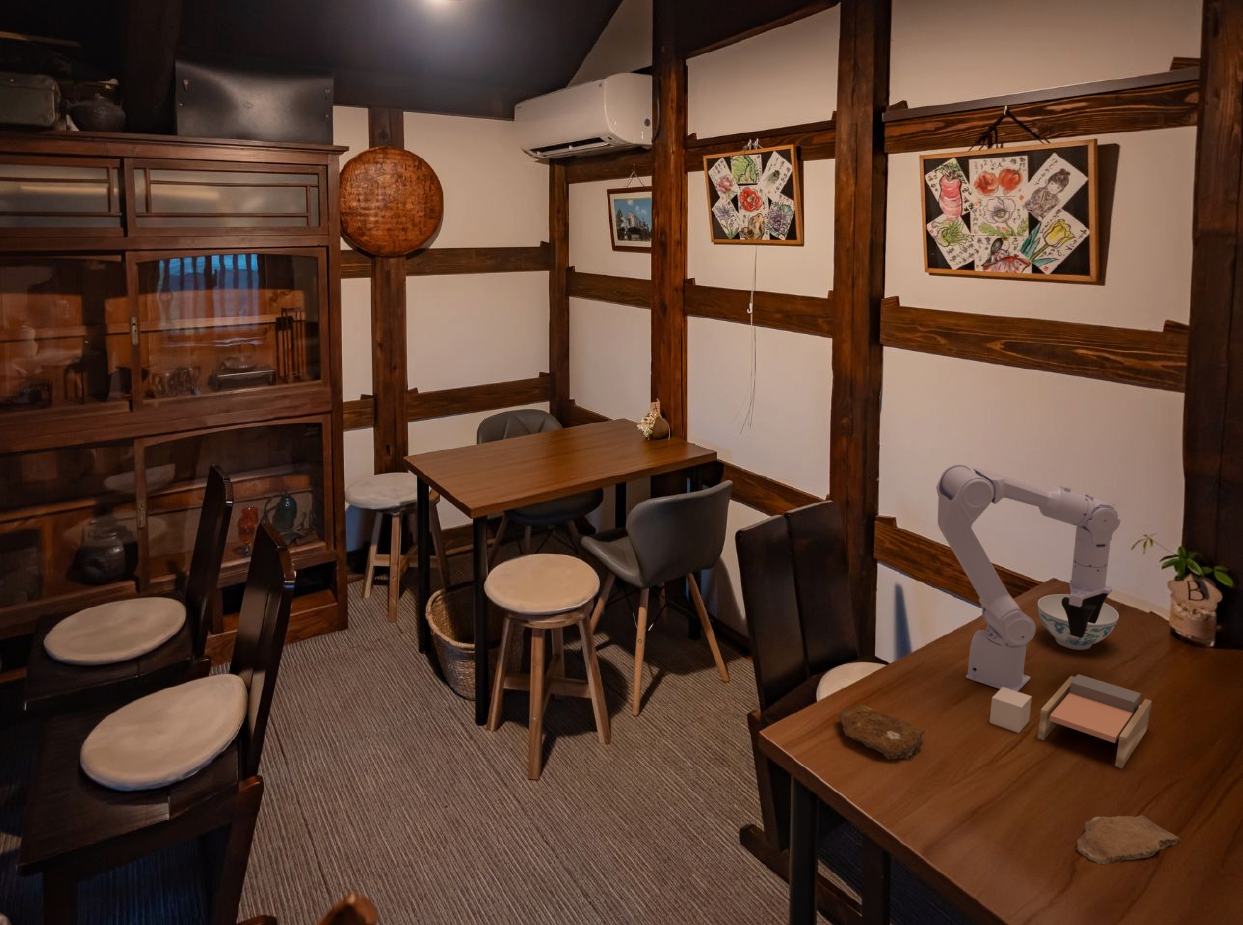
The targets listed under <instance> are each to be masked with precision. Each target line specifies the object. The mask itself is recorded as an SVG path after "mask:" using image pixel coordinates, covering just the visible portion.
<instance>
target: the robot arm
mask: <svg viewBox="0 0 1243 925" xmlns="http://www.w3.org/2000/svg"><path fill="white" fill-rule="evenodd" d="M972 469H973V470H972ZM972 469H970V467H968V466H967V465H964V464H953V465H952V466H949V467H947V468H946V469H945V470H944V471H943V472H942V474H941V476H940V478H939V481H938V482H937V485H936V486H935V488H936V489H935V490H936V493H937V496H938V499H937V500H938V502H937V503H938V505H937V525H938V528H939V530H940V531H941V533H942V536H943V537H944V538H945V540H946V542H947V543H948V545H949V547H950V548H951V551H952V552H953V554H954V555H955V557H956V560H958V563H959V564H960V566H961V567H962V570H963V571H964V573H965V575H966V577H967V578H968V580H969V581H970V584H971V585H972V586H973V588H974V590H975V592H976V593H977V595H978V601H979V603H980V606H981V609H982V610H981V616H982V619H983V620H984V622H985V623H986V630H985V629H978V630H977V631H976V632H975V633H974V635H972V636H973V637H972V639H971V642H970V647H969V648H970V649H969V655H968V656H969V657H968V669H967V674H966V675H965V678H966V679H968V680H971V681H974V682H977V683H981V684H984V685H987V686H990V687H993V688H995V689H999V690H1000V689H1001V688H1002V687H1005V688H1008V689H1011V690H1014V691H1017V692H1020V690H1021V689H1022V688H1023V687H1024V686H1025V685H1026V684H1027V683H1028V682H1029V681H1030V680H1031V676H1029V675H1026V674H1024V670H1025V662H1026V661H1025V660H1026V654H1027V653H1026V652H1027V646H1028V643H1029V642H1030V641H1032V640H1033V638H1034V636H1035V634H1036V630H1037V626H1036V623H1035V621H1034V620H1033V618H1031V617H1030V616H1028V615H1027V614H1025V612H1023V611H1022V610H1021V607H1020V606H1019V605H1018V603H1017V602H1016V601H1015V600H1014V599H1013V598H1012V596H1011V595H1010V593H1009V591H1008V590H1007V588H1006V586H1005V585H1004V583H1003V581H1002V580H1001V578H1000V576H999V574H998V573H997V570H996V569H995V567H994V565H993V563H992V562H991V560H990V558H989V557H988V555H987V553H986V552H985V550H984V547H983V546H982V545H981V543H980V541H979V539H978V537H977V536H976V534H975V532H974V530H973V529H972V526H973V524H974V523H975V521H977V519H978V518H979V517H980V516H981V515H982V513H984V511H985V510H986V509H987V508H988V507H989V505H990V504H991V503H992V504H994V505H996V504H998V503H999V502H1000V501H1001V500H1003V499H1008V500H1012V501H1016V502H1018V503H1019V502H1020V503H1024V504H1025V505H1026V504H1027V505H1030V506H1033V507H1038V509H1039V512H1040V514H1041V515H1042V516H1044V517H1046V518H1050V519H1052V520H1053V519H1054V520H1057V521H1060V522H1063V523H1065V524H1069V525H1072V526H1076V528H1075V538H1074V547H1073V549H1074V550H1073V559H1072V567H1071V577H1070V578H1071V579H1070V580H1069V589H1070V590H1069V592H1070V594H1069V595H1070V598H1068V597H1064V598H1063V599H1062V602H1061V603H1062V606H1063V608H1064V610H1065V612H1066V615H1067V618H1068V623H1069V630H1070V634H1071V635H1072V636H1076V637H1080V638H1082V637H1083V636H1084V634H1085V631H1086V628H1087V624H1088V622H1089V623H1093V624H1095V623H1096V621H1097V619H1098V617H1099V614H1100V611H1101V608H1102V605H1103V603H1105V602H1106V600H1107V598H1108V596H1109V594H1111V593H1112V592H1113V587H1111V586H1108V585H1107V583H1106V582H1107V574H1108V565H1109V564H1108V563H1109V557H1110V550H1111V548H1110V547H1111V541H1112V540H1113V539H1112V538H1113V535H1114V532H1116V530H1117V529H1118V528H1119V526H1120V524H1121V519H1120V518H1119V514H1118V511H1117V510H1116V509H1115V507H1114V506H1113V505H1110V504H1108V503H1106V502H1104V501H1102V500H1101V499H1099V498H1097V497H1094V495H1091V494H1089V493H1086V494H1085V495H1083V494H1080V493H1077V492H1075V491H1072V489H1071V487H1068V486H1066V485H1063V484H1061V485H1060V487H1058V486H1050V487H1048V488H1046V489H1042V488H1039V487H1036V486H1034V485H1033V486H1032V485H1030V484H1027V483H1025V482H1022V481H1019V480H1016V479H1013V478H1011V477H1008V476H1005V475H1002V474H1000V473H997V472H992V471H989V470H986V469H982V468H978V467H972Z"/></svg>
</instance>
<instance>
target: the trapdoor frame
mask: <svg viewBox="0 0 1243 925" xmlns="http://www.w3.org/2000/svg"><path fill="white" fill-rule="evenodd" d="M1075 677H1076V676H1072V675H1070V676H1069V677H1068V679H1066V681H1065V682H1064V683H1063V684H1062V685H1061V686H1060V687H1059V688H1058V690H1057V691H1056V692H1055V693H1054V694H1053V696H1052V697H1050V699H1049V700H1048V701H1047V702H1046V703H1045V704H1044V705H1043V707H1041V709H1040V715H1039V724H1038V731H1037V732H1038V733H1037V739H1038V740H1041V741H1045V740H1046V738H1047V737H1048V736H1049V735H1050V734H1051V732H1052V731H1053V730H1054V729H1055V728H1056V726H1057V725H1059V724H1058V723H1055V722H1052V721H1049V720H1050V715H1051V714H1052V712H1053V711H1054V710H1055V709H1056V708H1057V707H1058V705H1059V704H1060V703H1061V702H1062V701H1063V700H1064V698H1065V697H1066V696H1067V695H1068V694H1069V692H1070V685H1071V682H1072V681H1073V679H1074V678H1075ZM1151 708H1152V700H1150V699H1148V698H1144V700H1143V702H1142V703H1141V704H1139V709H1138V710H1137V711H1136V713H1135V714H1134V716H1133V717H1132V719H1131V720H1130V722H1129V723H1128V724H1127V726H1126V727H1125V729H1124V730H1123V732H1122V733H1121V735H1120V736H1119V738H1118V746H1117V750H1116V751H1117V752H1116V758H1115V764H1114V767H1117V768H1120V769H1123V768H1124V766H1125V765H1126V763H1127V761H1128V760H1129V759H1130V758H1131V755H1132V753H1133V752H1134V751H1135V749H1136V748H1137V746H1138V745H1139V743H1140V741H1141V740H1142V738H1143V736H1144V735H1145V734H1146V732H1147V731H1148V728H1149V720H1150V715H1151V710H1152V709H1151Z"/></svg>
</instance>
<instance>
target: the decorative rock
mask: <svg viewBox="0 0 1243 925" xmlns="http://www.w3.org/2000/svg"><path fill="white" fill-rule="evenodd" d="M836 716H837V717H838V718H839V719H840V723H841V725H842V727H843V732H844V734H845V737H849V738H850V739H851V740H854V741H857V742H859V743H860V742H861V743H862V744H863V745H864V746H865V747H867V748H870V749H873V750H875V751H877V752H879V753H880V754H882V756H884V757H885V758H886V759H887V760H888V761H890V760H900V758H901V759H905V760H907V761H912V760H913V759H914V755H917V753H918V749H919V747H921V745H922V743H923V742H924V740H923V734H924V733H925V730H924V729H919V728H917V727H916V726H914V724H912V723H909V722H907V721H905V720H903V719H899V718H898V717H894V716H889V715H886V714H884V713H878V712H877V711H875V710H873V708H872V707H871V706H870V707H869V706H867V705H865V704H857V705H855V706H854V707H852V708H849V707H846V708H841V709H840V710H839V711H838V714H836Z"/></svg>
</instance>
